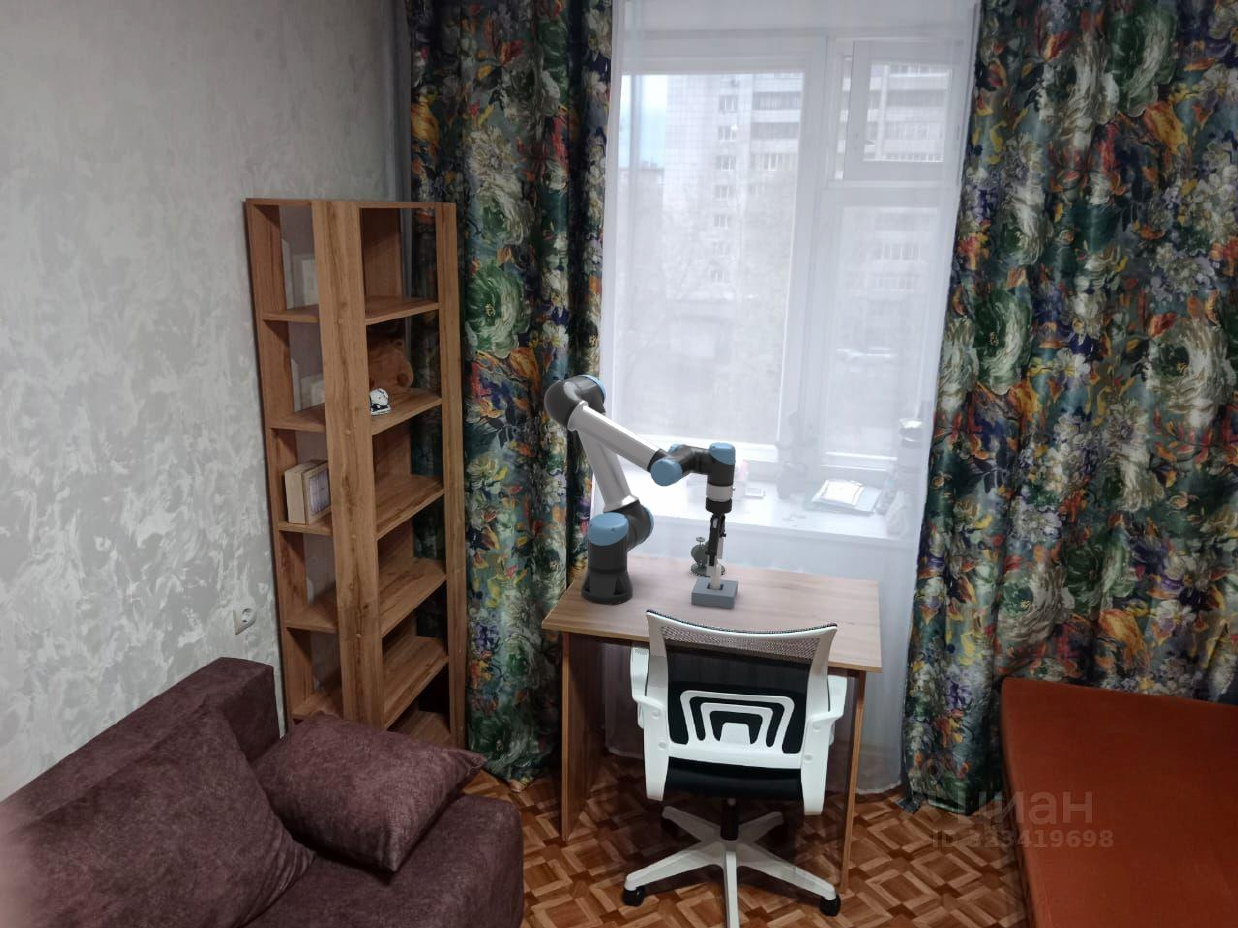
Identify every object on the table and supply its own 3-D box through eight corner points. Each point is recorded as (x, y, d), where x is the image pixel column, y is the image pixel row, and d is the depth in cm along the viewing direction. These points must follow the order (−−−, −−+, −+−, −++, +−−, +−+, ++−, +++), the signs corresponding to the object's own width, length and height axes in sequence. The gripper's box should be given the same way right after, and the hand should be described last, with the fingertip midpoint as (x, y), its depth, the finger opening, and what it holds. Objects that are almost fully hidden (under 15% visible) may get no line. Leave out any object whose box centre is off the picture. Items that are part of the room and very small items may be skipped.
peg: (708, 599, 268) (710, 567, 266) (710, 595, 271) (711, 563, 269) (719, 600, 268) (720, 568, 265) (720, 596, 271) (722, 564, 268)
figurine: (729, 576, 286) (731, 539, 282) (696, 578, 283) (697, 542, 280) (718, 563, 296) (719, 528, 292) (686, 565, 293) (687, 530, 290)
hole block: (691, 603, 265) (691, 592, 264) (697, 587, 276) (698, 576, 276) (732, 608, 263) (733, 596, 262) (737, 591, 274) (738, 580, 273)
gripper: (727, 512, 249) (721, 585, 255) (737, 486, 272) (732, 553, 278) (699, 509, 250) (694, 581, 256) (712, 483, 274) (707, 550, 280)
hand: (714, 566), depth 267 cm, fingers open, 13 cm apart
